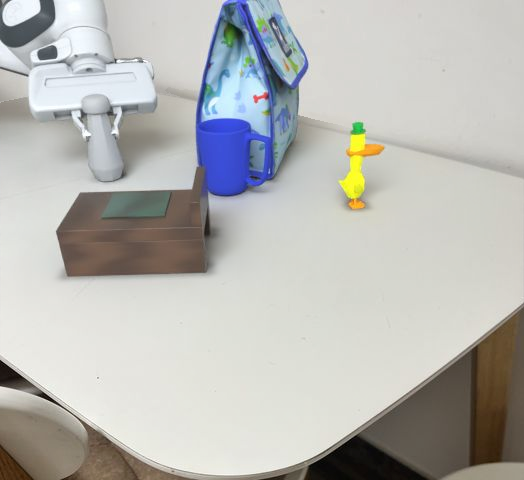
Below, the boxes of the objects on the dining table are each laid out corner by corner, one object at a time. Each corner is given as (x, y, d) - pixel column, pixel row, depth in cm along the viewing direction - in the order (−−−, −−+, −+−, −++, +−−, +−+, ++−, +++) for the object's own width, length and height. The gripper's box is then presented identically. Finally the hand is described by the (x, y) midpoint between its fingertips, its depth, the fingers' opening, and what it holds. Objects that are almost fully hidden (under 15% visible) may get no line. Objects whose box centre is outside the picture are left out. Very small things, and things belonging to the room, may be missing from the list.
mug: (257, 207, 85) (256, 139, 79) (191, 194, 90) (185, 129, 84) (283, 189, 91) (283, 124, 85) (219, 177, 96) (215, 115, 90)
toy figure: (373, 198, 87) (381, 116, 80) (383, 207, 84) (392, 123, 77) (331, 204, 86) (336, 121, 78) (341, 213, 83) (346, 128, 76)
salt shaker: (102, 186, 93) (85, 102, 86) (85, 177, 97) (68, 96, 89) (132, 177, 97) (119, 95, 89) (115, 168, 100) (101, 89, 92)
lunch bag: (290, 182, 93) (292, -4, 78) (193, 177, 96) (176, -4, 80) (309, 141, 110) (313, -18, 95) (226, 138, 113) (217, -17, 98)
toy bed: (67, 276, 70) (49, 206, 64) (89, 233, 79) (74, 169, 74) (206, 272, 70) (199, 202, 64) (211, 230, 79) (205, 166, 74)
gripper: (151, 68, 99) (165, 142, 97) (28, 78, 95) (40, 154, 93) (150, 44, 93) (165, 122, 91) (19, 52, 89) (32, 134, 87)
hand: (101, 138), depth 92 cm, fingers closed on salt shaker, 3 cm apart
